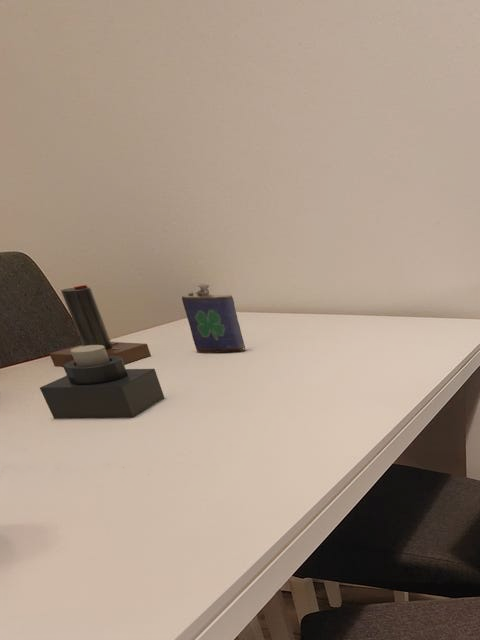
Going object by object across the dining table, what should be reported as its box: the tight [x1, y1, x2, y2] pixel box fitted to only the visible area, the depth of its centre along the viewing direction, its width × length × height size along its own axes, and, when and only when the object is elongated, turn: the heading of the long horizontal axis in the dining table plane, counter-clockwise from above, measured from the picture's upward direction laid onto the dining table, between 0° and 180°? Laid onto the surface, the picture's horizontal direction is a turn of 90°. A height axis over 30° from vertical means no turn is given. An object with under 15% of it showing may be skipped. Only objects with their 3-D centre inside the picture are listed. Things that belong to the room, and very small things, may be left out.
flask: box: [181, 283, 246, 354], centre depth 105 cm, size 9×3×11 cm, turn 85°
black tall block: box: [60, 284, 113, 349], centre depth 100 cm, size 4×4×9 cm
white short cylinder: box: [71, 345, 110, 366], centre depth 77 cm, size 4×4×2 cm
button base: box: [39, 356, 165, 420], centre depth 80 cm, size 11×9×6 cm
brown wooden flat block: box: [49, 341, 152, 367], centre depth 104 cm, size 12×10×2 cm
